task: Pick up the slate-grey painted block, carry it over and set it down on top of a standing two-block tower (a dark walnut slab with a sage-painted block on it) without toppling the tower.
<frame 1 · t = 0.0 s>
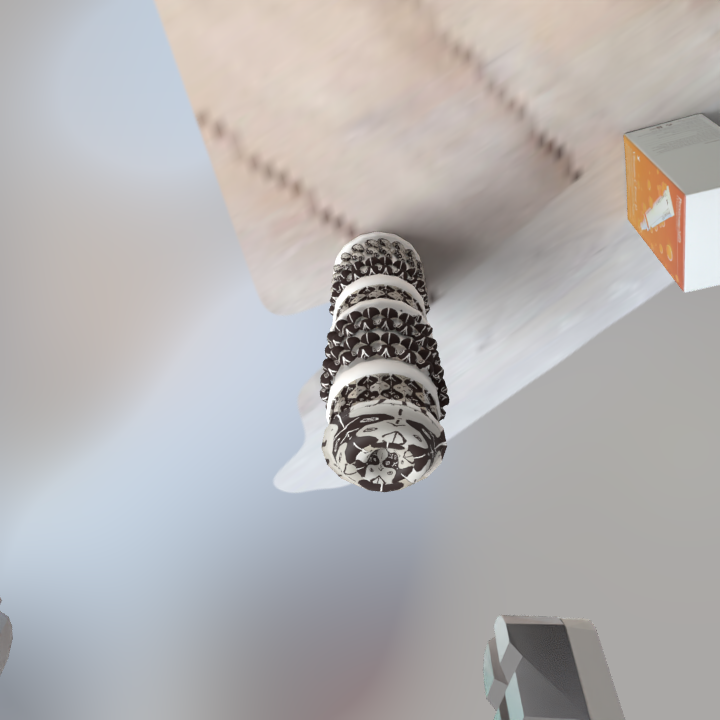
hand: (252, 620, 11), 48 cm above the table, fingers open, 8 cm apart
small box: (660, 167, 55), on the table
decorative candle: (378, 271, 61), on the table
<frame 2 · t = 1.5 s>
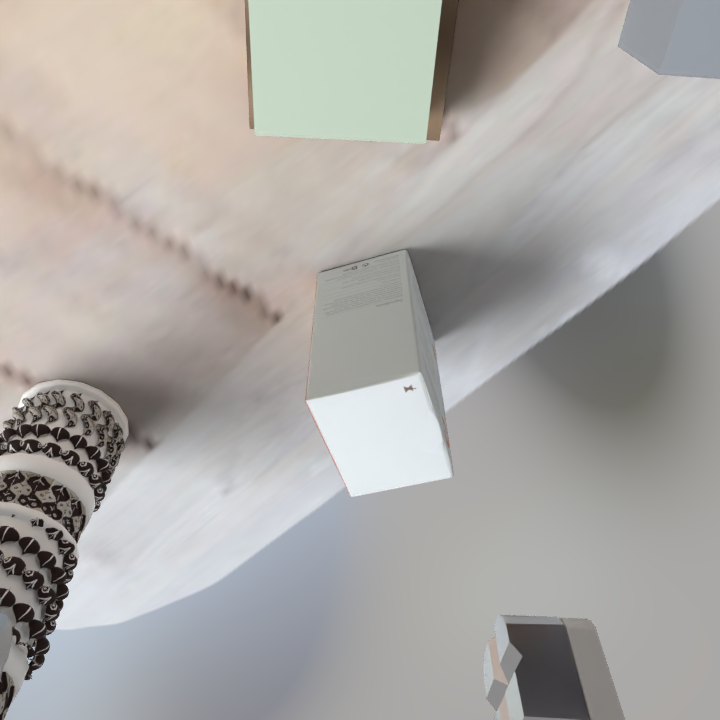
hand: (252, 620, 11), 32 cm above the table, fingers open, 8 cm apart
tower top: (344, 27, 31), point 4 cm above the table, touching tower base
small box: (377, 306, 45), on the table
decorative candle: (76, 418, 51), on the table
tower base: (351, 14, 34), on the table, touching tower top
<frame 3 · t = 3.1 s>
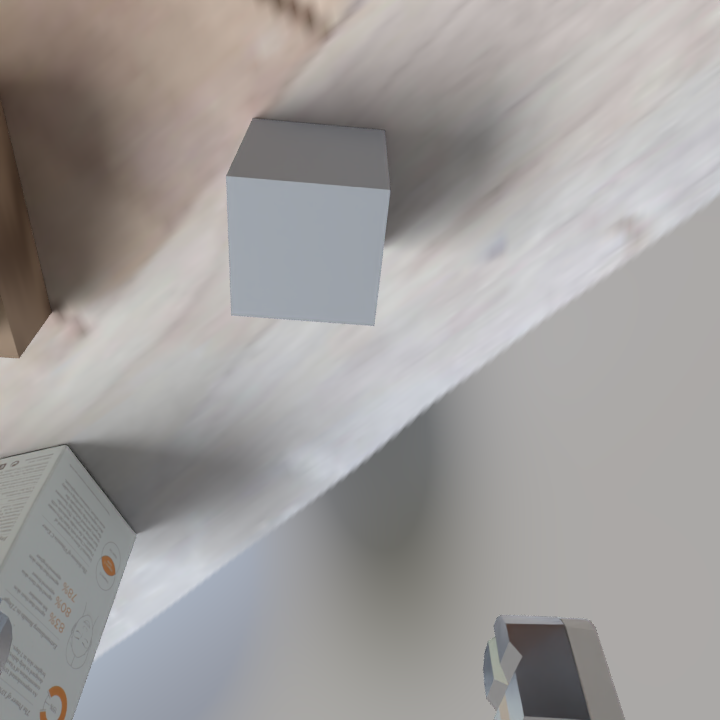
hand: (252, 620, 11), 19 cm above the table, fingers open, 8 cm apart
small box: (58, 498, 37), on the table
block: (316, 187, 26), on the table
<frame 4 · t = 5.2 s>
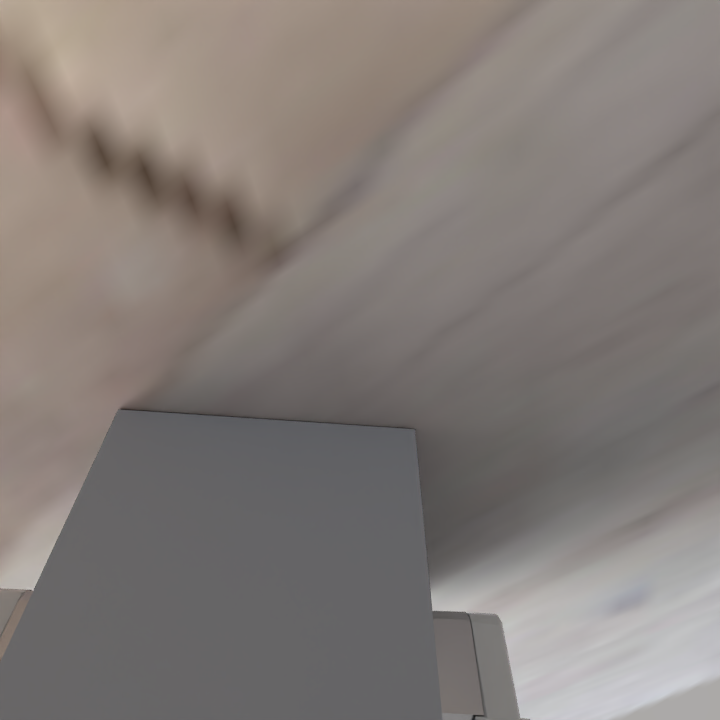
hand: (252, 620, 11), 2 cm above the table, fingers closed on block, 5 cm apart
block: (268, 517, 12), on the table, touching gripper
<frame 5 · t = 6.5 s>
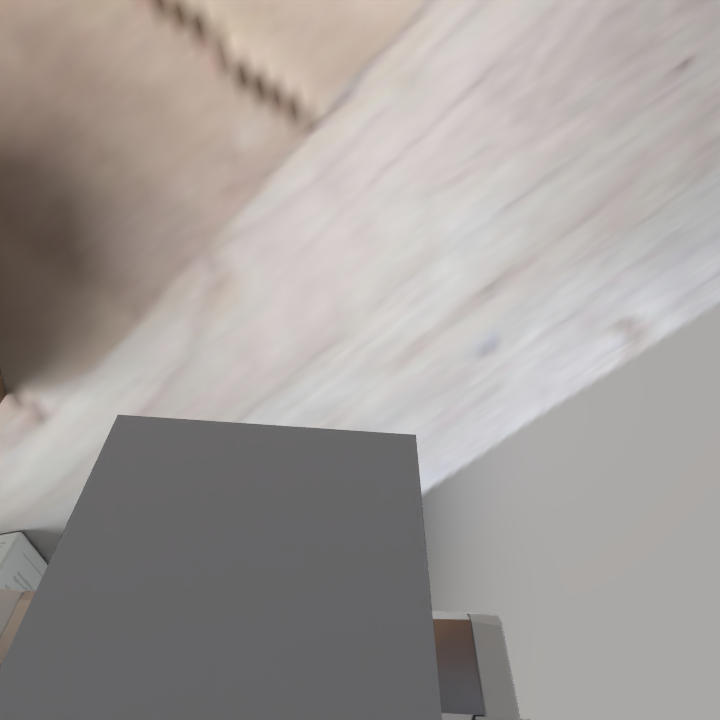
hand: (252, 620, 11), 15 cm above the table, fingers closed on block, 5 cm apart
small box: (11, 584, 34), on the table
block: (268, 522, 12), point 13 cm above the table, touching gripper
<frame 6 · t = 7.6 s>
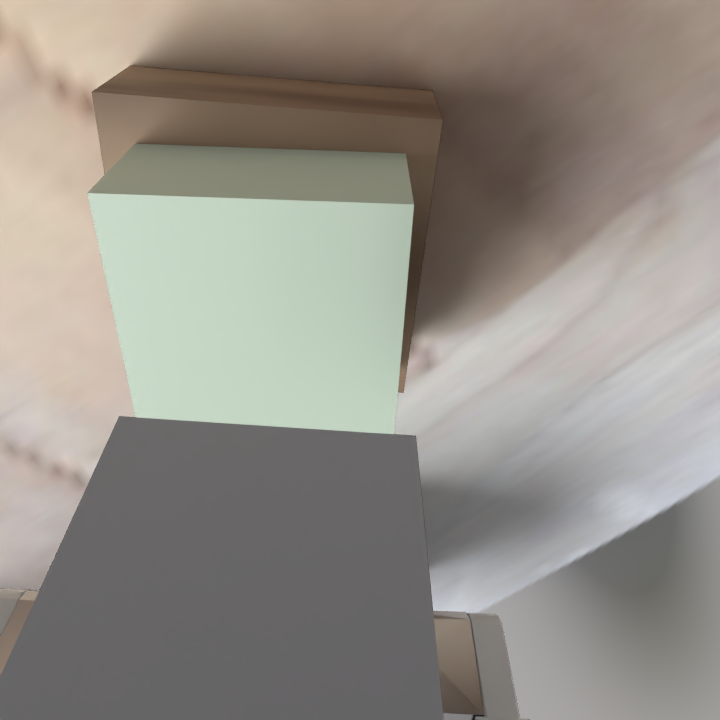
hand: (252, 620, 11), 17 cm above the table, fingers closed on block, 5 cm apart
tower top: (276, 269, 21), point 4 cm above the table
block: (268, 522, 12), point 14 cm above the table, touching gripper
tower base: (282, 216, 25), on the table
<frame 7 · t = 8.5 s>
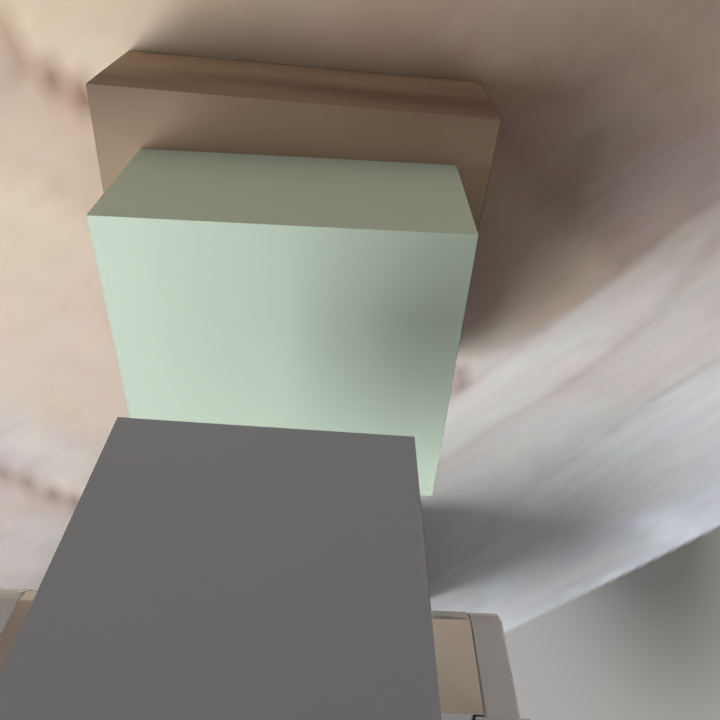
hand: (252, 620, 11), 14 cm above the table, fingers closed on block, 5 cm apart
tower top: (300, 292, 19), point 3 cm above the table, touching tower base
block: (267, 523, 12), point 12 cm above the table, touching gripper
tower base: (302, 221, 22), on the table, touching tower top
when the fingers open (12 cm above the table, at t = 9.2 s): block drops 2 cm, resting on tower top.
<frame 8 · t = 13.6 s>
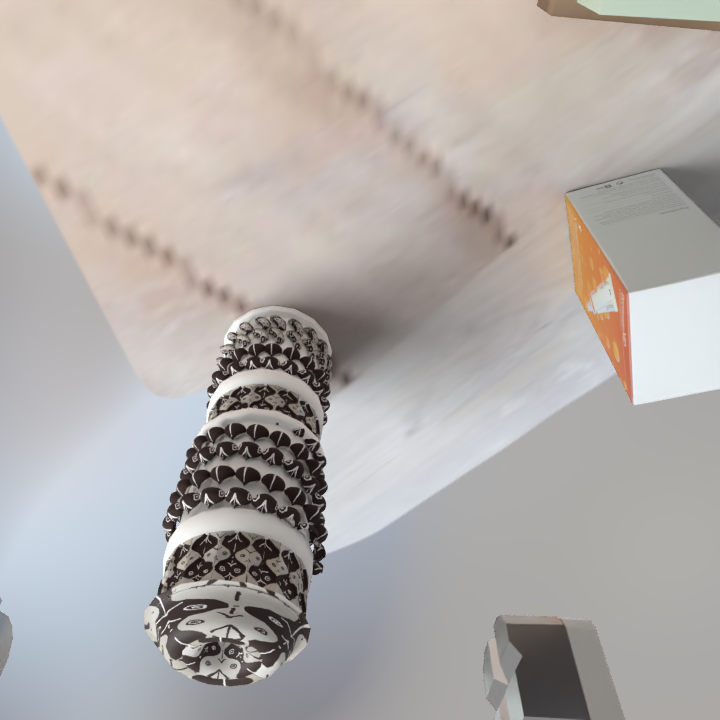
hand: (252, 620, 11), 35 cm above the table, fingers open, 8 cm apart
small box: (613, 232, 45), on the table
decorative candle: (279, 349, 51), on the table
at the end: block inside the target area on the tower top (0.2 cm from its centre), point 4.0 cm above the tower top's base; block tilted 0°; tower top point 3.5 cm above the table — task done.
